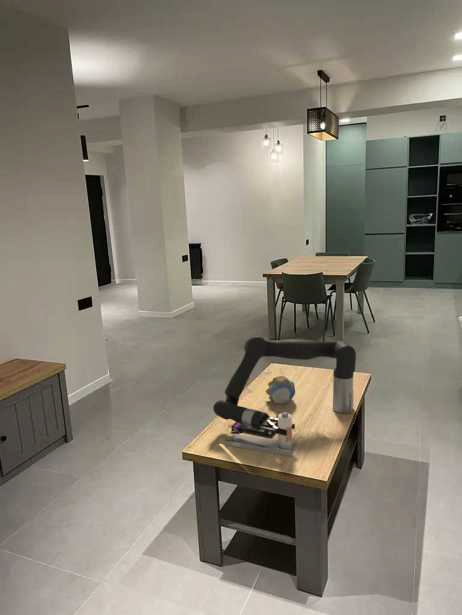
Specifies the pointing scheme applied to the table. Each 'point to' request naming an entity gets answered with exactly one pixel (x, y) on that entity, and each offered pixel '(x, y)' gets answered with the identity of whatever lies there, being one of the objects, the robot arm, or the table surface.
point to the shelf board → (258, 442)
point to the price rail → (258, 447)
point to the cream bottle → (286, 424)
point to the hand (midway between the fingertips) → (290, 429)
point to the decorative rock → (281, 390)
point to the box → (246, 429)
